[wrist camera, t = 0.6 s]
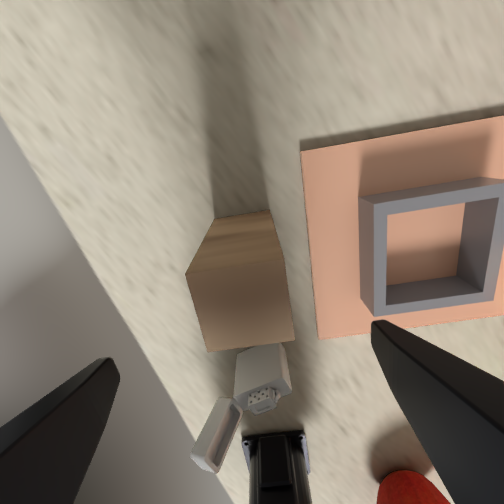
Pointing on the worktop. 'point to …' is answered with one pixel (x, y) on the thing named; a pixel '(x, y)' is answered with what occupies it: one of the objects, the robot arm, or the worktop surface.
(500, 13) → the worktop surface
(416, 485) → the apple
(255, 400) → the lighter
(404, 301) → the block holder
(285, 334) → the wooden block
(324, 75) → the worktop surface
